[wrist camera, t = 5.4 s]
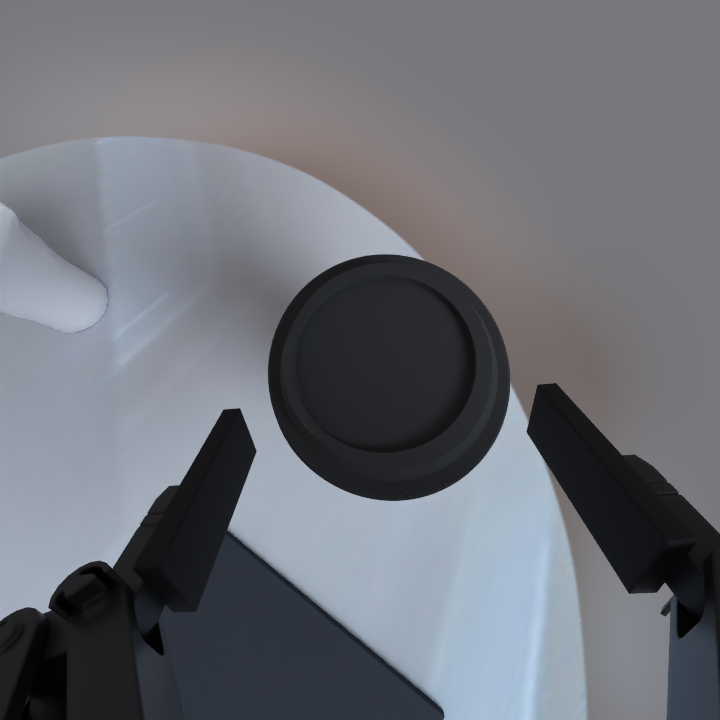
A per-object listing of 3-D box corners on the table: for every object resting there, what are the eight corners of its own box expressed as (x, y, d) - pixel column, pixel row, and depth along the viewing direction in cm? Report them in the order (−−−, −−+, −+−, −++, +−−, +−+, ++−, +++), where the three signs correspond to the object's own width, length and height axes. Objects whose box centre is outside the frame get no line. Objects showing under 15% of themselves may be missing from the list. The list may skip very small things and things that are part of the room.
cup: (137, 327, 27) (1, 266, 18) (36, 362, 27) (-156, 322, 18) (123, 243, 30) (-4, 149, 20) (30, 276, 29) (-144, 198, 20)
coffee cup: (422, 333, 25) (474, 192, 11) (463, 445, 23) (599, 462, 8) (315, 365, 25) (219, 270, 11) (345, 481, 23) (275, 558, 8)
